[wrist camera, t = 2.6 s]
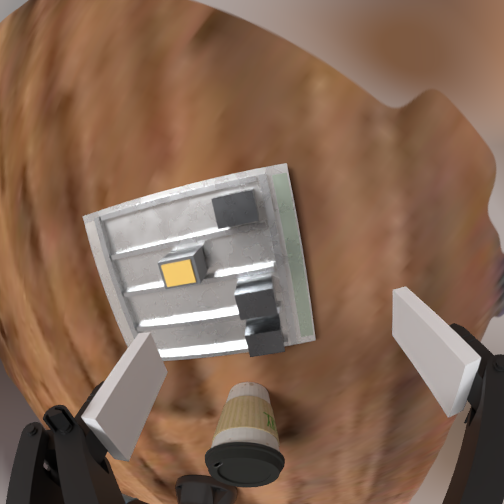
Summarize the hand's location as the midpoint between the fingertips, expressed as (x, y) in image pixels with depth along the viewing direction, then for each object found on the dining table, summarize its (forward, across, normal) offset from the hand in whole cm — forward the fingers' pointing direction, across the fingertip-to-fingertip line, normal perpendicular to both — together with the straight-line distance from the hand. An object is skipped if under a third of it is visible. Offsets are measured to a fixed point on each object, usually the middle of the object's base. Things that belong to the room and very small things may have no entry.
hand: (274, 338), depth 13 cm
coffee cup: (+21, -7, -23) cm, 32 cm away
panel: (+21, -9, -2) cm, 23 cm away
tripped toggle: (+18, -9, 0) cm, 21 cm away
